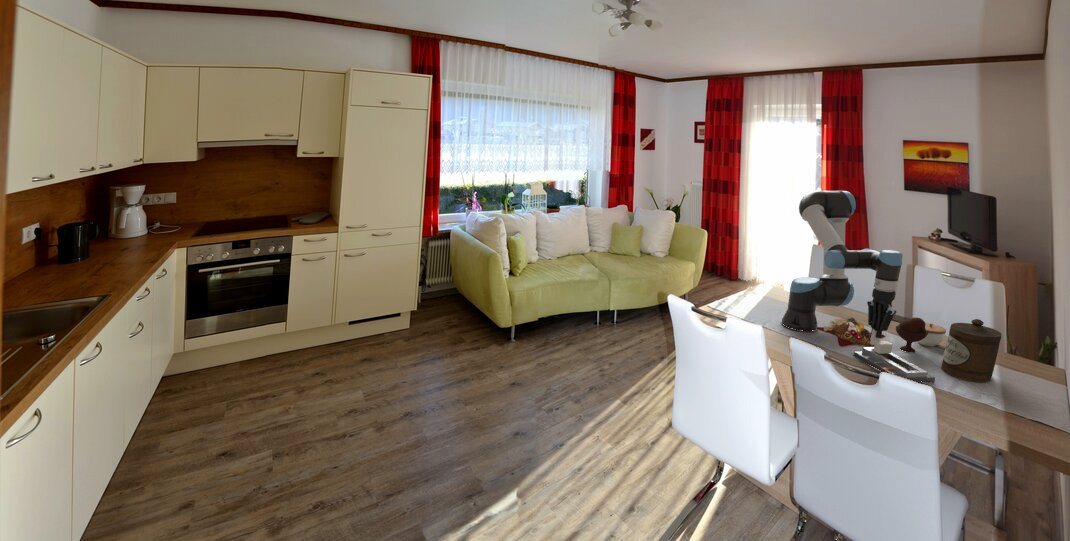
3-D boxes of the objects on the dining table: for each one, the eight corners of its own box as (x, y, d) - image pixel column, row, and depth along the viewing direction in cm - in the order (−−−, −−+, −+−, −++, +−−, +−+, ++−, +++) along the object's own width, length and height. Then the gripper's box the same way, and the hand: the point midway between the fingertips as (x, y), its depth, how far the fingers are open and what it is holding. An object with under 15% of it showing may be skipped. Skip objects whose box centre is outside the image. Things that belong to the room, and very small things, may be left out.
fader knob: (872, 355, 201) (874, 341, 199) (883, 355, 201) (886, 340, 200) (878, 359, 198) (881, 344, 196) (890, 358, 198) (893, 344, 196)
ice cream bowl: (917, 346, 214) (924, 314, 210) (927, 357, 204) (935, 323, 200) (888, 343, 218) (895, 311, 214) (897, 353, 208) (904, 320, 204)
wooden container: (933, 363, 199) (945, 311, 193) (978, 367, 195) (991, 315, 189) (951, 379, 185) (965, 324, 180) (999, 385, 181) (1015, 329, 175)
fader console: (853, 355, 205) (855, 347, 204) (885, 354, 206) (887, 346, 205) (898, 383, 182) (900, 373, 181) (934, 382, 183) (936, 372, 182)
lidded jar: (947, 349, 212) (952, 329, 209) (919, 347, 214) (924, 327, 211) (933, 339, 222) (938, 320, 219) (906, 337, 224) (911, 318, 221)
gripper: (864, 284, 203) (854, 338, 209) (888, 294, 190) (877, 351, 196) (881, 284, 204) (871, 337, 210) (906, 293, 191) (895, 350, 197)
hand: (874, 344), depth 203 cm, fingers closed
